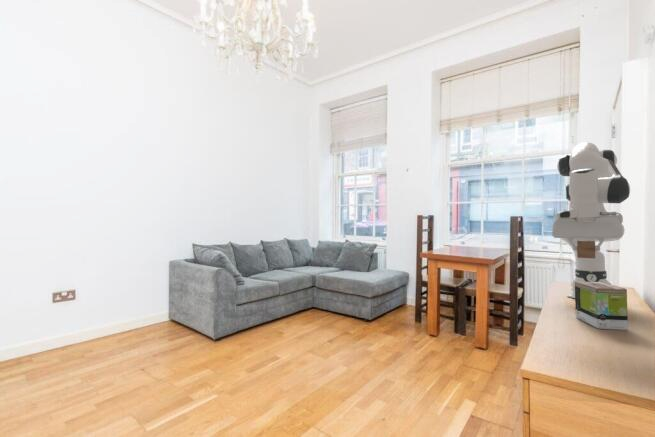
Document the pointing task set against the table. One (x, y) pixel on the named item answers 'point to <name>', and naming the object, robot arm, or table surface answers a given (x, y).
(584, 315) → the tea box
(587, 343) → the table surface
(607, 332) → the table surface
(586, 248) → the walnut block
